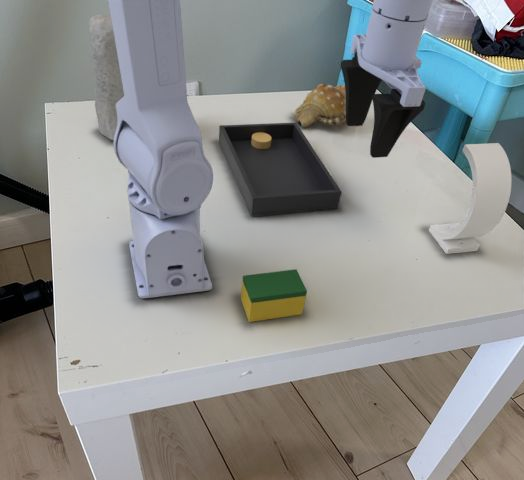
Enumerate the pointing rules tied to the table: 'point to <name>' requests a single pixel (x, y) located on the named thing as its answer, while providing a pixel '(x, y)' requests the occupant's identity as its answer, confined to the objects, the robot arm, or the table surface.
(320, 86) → the seashell
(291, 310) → the sponge
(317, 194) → the tray
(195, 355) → the table surface
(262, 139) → the tan flat disc
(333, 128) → the table surface
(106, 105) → the decorative stone
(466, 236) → the headphone stand
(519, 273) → the table surface
